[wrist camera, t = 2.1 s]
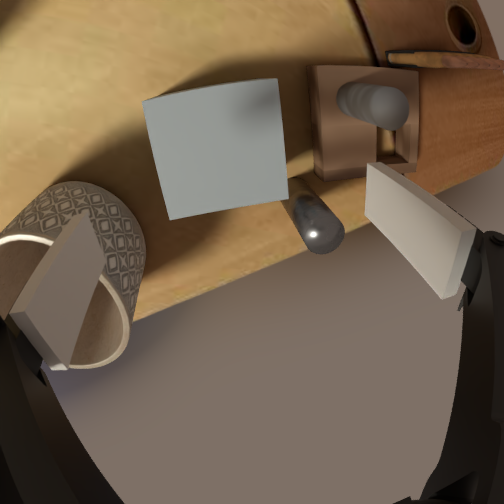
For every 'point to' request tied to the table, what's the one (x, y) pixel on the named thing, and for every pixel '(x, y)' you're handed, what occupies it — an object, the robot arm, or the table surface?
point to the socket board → (361, 118)
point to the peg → (312, 218)
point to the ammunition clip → (441, 59)
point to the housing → (218, 146)
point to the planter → (113, 274)
